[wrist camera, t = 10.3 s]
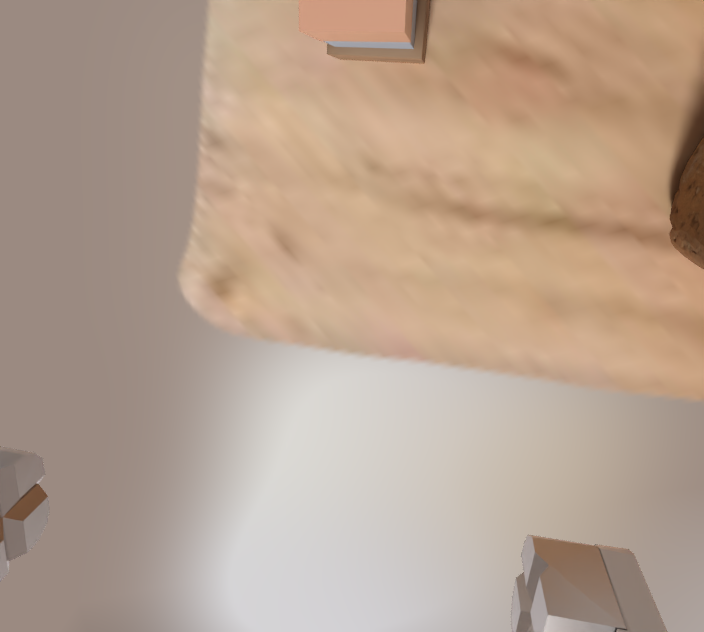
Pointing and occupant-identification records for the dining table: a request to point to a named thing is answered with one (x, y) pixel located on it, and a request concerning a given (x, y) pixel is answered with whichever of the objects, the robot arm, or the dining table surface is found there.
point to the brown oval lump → (690, 210)
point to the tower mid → (382, 44)
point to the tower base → (392, 53)
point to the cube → (357, 20)
